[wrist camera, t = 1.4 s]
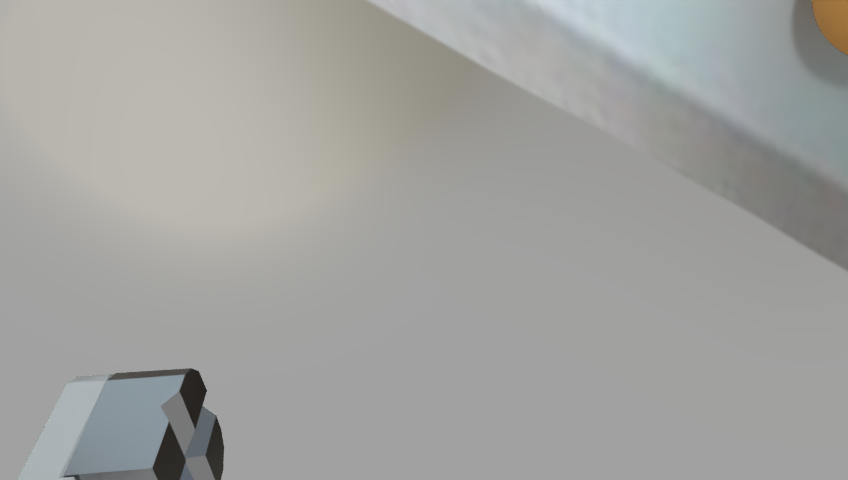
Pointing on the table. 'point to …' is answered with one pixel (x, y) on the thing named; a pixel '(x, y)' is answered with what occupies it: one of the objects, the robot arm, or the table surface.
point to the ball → (833, 21)
